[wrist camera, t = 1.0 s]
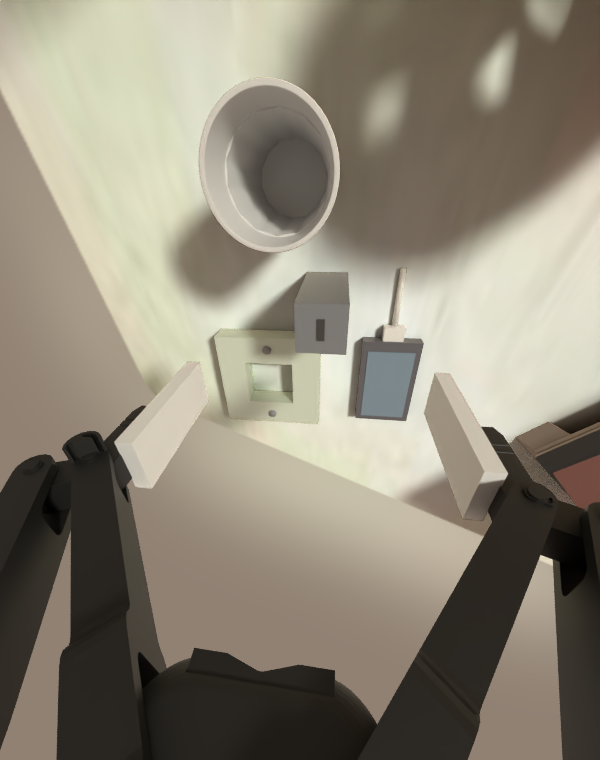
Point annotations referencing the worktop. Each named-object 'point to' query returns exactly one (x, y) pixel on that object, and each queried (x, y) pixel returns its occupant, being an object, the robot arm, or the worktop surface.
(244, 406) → the outlet plate
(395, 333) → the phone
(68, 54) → the worktop surface
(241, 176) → the cup
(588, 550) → the robot arm
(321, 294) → the block
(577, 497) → the toaster
